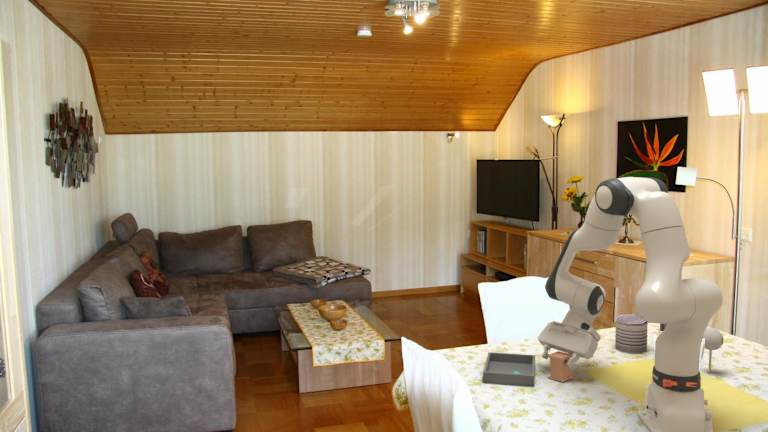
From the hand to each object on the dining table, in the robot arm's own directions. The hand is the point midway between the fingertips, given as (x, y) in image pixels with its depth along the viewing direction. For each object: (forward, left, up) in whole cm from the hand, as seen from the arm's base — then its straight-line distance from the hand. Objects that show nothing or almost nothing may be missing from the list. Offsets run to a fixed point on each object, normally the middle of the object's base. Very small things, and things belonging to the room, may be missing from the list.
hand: (555, 361), depth 207 cm
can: (+34, -27, -6) cm, 44 cm away
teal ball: (-7, +12, -3) cm, 15 cm away
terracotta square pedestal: (-1, -2, -5) cm, 5 cm away
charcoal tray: (0, +15, -5) cm, 16 cm away
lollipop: (+14, -49, -6) cm, 52 cm away
